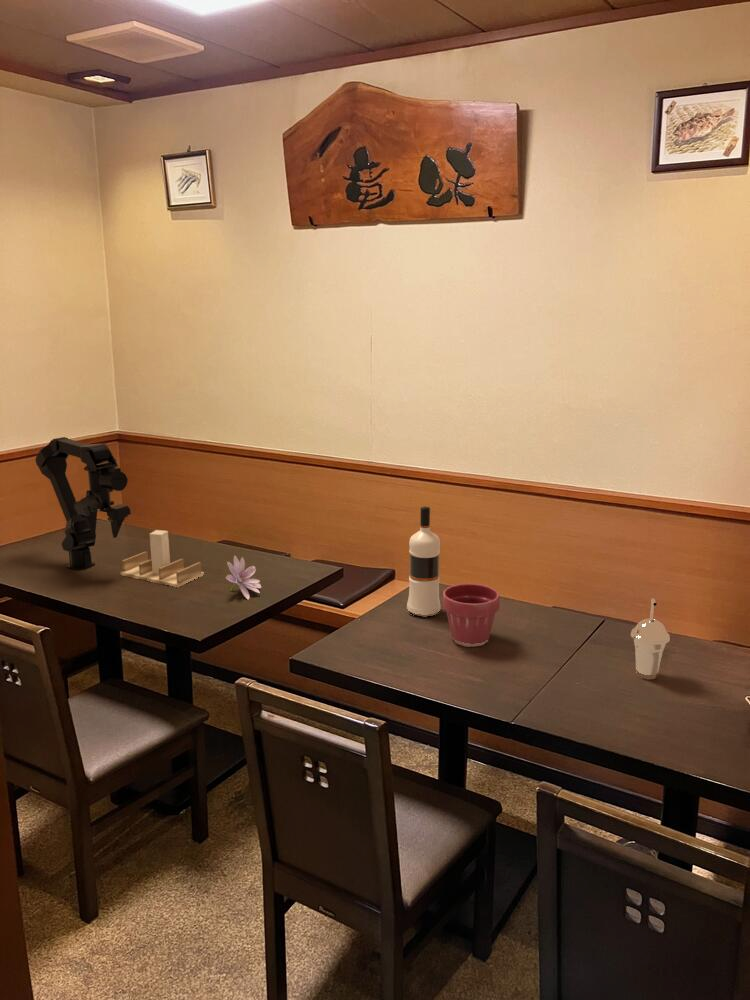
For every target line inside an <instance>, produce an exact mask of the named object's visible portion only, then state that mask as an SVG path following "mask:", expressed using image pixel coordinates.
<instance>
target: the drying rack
mask: <svg viewBox="0 0 750 1000" xmlns="http://www.w3.org/2000/svg"><path fill="white" fill-rule="evenodd" d="M148 554H149V552H148V551H142V552H140V553H137V554H135V555H133V556H130V557H128V558H125V559H123V560H121V563H122V564H121V565H122V571H120V576H122V577H123V576H124V577H128V578H131V577H132V579H137V580H140V579H141V581H145V580H146V582H149V581H150V583H154V584H159V585H163V584H164V586H167V585H169V586H168V587H172V586H173V587H172V588H176V587H177V589H178V588H180V587H181V586H184V585H187V584H188V582H189V583H191V582H192V581H195V580H197V579H199V578H201V577H204V576H203V575H205V572H204V571H202V563H201V562H200V561H197V562H196V563H193V564H191V565H189V566H187V567H185V562H184V558H179V559H176V560H175V561H174V560H173V561H172V562H170V564H167V565H165V566H163V567H160V568H159V575H158V574H153V571H152V558H150V559H149V555H148ZM198 577H199V578H198ZM194 579H195V580H194ZM190 581H191V582H190ZM186 583H187V584H186Z"/></svg>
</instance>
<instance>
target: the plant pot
mask: <svg viewBox="0 0 750 1000" xmlns="http://www.w3.org/2000/svg"><path fill="white" fill-rule="evenodd" d="M442 606H443V607H442V608H443V610H444V611H445V612H446V616H447V621H448V626H449V631H450V635H451V638H452V637H453V638H454V639H455V640H457V641H460V642H464V643H470V644H475V643H482V642H485V641H486V640H488V639H490V636H491V631H492V627H493V624H494V619H495V615H496V614H497V613H498V611H500V593H499V592H498V590H496V589H495V588H493V587H491V586H489V585H485V584H480V583H479V584H478V583H459V584H454V585H451V586H448V587H447V588H445V589H444V590H443V593H442ZM488 641H489V640H488Z"/></svg>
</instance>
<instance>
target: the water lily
mask: <svg viewBox="0 0 750 1000" xmlns="http://www.w3.org/2000/svg"><path fill="white" fill-rule="evenodd" d="M226 564H227V567H228V568H229V571H230V572H231V574H227V575H226V576H225V579H226V580H228V581H229V582H230V583H232V584H233V585H232V586H231V588H229V591H230V592H232V591H233V590H234V589H235V587H236V586H237V585H238V586H239V590H240V591H241V593H242V595H243V597H244V598H245V599H247V600H249V599H250V598H251V597H250V593H249V591H248V590H250V591H252V592H255V593H257V594H261V592H260V590H259V589H261V588H262V585H261V583H260V582H261V581H260V579H256V578H251V577H252V576H253V575H254V574H255V573H256V570H257V568H256V566H254V565H251V566H248V567H247V568H246V563H245V558H244V557H243V556H242V557H241V558H240V560H239V559H238V557H237V556H236V555H234V556H233V564H232V563H231V562H230V561H227V562H226ZM245 568H246V569H245Z"/></svg>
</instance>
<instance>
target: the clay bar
mask: <svg viewBox="0 0 750 1000" xmlns="http://www.w3.org/2000/svg"><path fill="white" fill-rule="evenodd" d="M149 543H150V544H149V546H150V557H151V558H150V559H152V571H153V574H158V575H159V568H160V567H163V566H165V565H167V564H170V563H171V556H170V555H171V554H170V541H169V531H168V530H161V529H155V530H153V531H152V532H150V533H149Z"/></svg>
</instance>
